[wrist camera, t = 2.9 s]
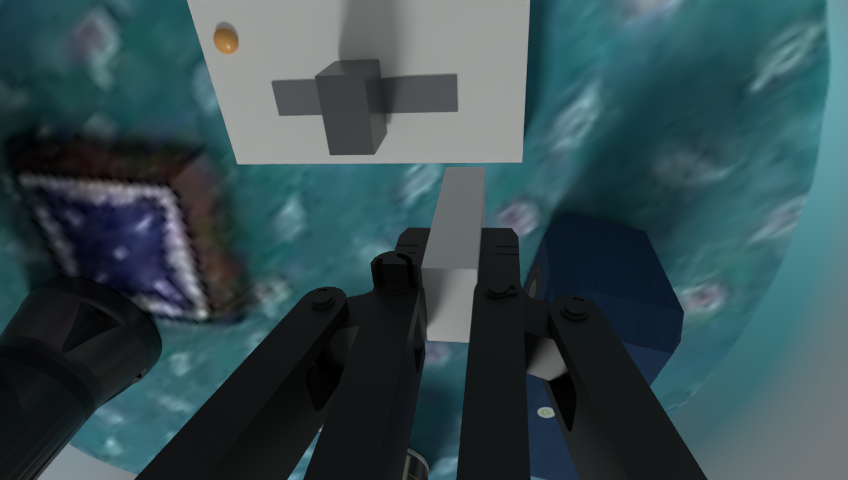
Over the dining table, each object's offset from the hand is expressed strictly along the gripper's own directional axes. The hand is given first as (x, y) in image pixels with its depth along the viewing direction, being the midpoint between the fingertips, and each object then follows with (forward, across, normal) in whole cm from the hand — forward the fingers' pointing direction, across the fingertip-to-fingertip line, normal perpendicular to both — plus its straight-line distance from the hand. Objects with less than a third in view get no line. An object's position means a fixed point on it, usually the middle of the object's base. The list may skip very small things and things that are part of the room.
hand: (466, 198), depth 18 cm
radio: (+18, -7, +21) cm, 29 cm away
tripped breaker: (+15, +8, 0) cm, 17 cm away
